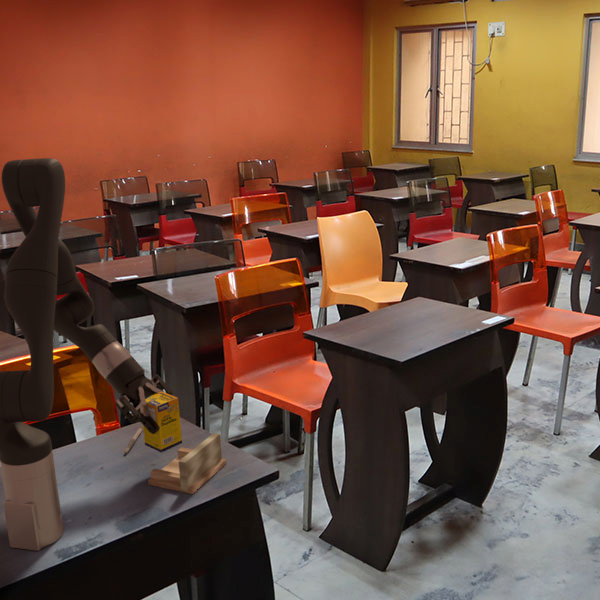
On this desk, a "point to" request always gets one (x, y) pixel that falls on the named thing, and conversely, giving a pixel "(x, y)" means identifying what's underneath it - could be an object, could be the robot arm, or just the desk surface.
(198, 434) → the desk surface
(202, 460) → the backstop pocket
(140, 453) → the desk surface
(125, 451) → the pen
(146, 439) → the supplement box
